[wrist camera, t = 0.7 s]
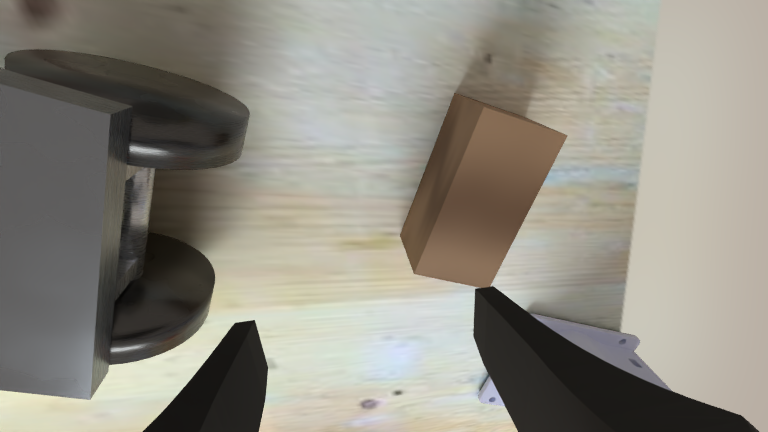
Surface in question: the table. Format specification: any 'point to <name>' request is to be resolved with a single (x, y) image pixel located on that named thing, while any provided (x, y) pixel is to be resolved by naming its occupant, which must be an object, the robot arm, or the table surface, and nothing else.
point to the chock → (476, 191)
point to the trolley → (98, 214)
